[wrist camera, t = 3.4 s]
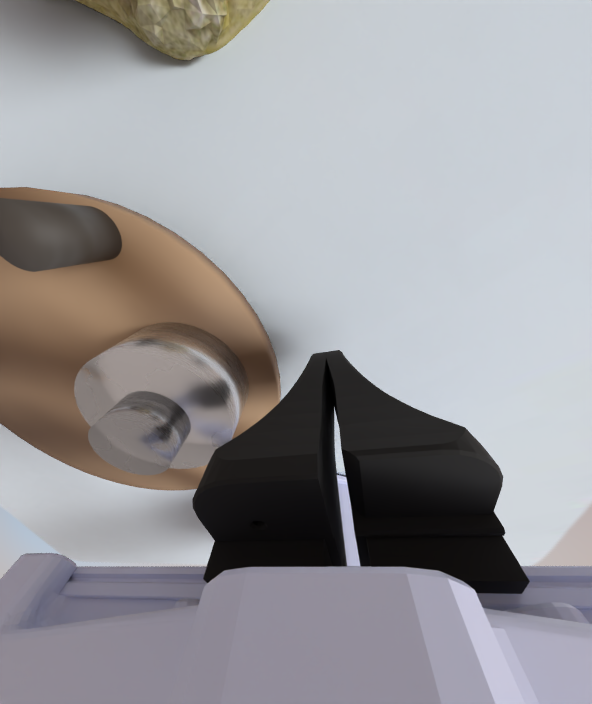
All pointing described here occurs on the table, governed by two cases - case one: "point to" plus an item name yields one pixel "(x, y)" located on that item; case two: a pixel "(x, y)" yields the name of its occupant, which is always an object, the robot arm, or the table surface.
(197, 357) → the cover
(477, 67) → the table surface
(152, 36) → the ceramic model
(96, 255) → the turntable
